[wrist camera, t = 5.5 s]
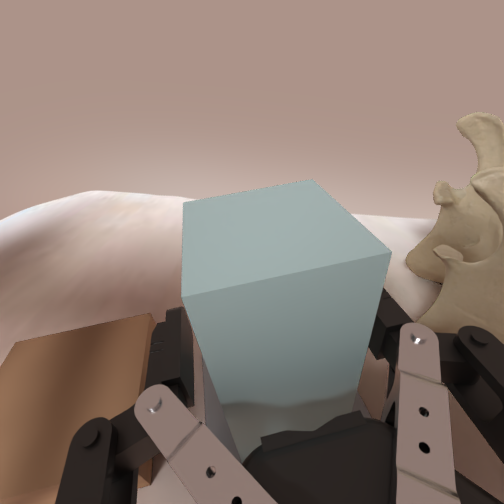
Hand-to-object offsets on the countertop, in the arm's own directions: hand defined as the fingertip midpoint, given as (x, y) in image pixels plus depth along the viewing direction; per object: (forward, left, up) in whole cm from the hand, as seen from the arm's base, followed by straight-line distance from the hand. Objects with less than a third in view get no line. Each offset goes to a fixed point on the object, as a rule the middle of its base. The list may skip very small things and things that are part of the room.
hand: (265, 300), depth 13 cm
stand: (-9, -8, -7) cm, 14 cm away
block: (+1, -1, -7) cm, 7 cm away
